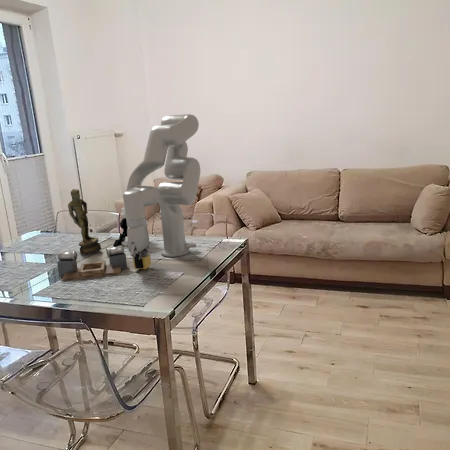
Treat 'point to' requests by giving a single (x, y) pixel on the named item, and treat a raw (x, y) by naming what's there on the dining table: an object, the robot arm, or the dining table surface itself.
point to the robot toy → (124, 227)
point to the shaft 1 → (67, 263)
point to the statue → (82, 223)
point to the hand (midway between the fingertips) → (142, 264)
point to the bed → (92, 271)
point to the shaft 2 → (117, 257)
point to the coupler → (144, 260)
